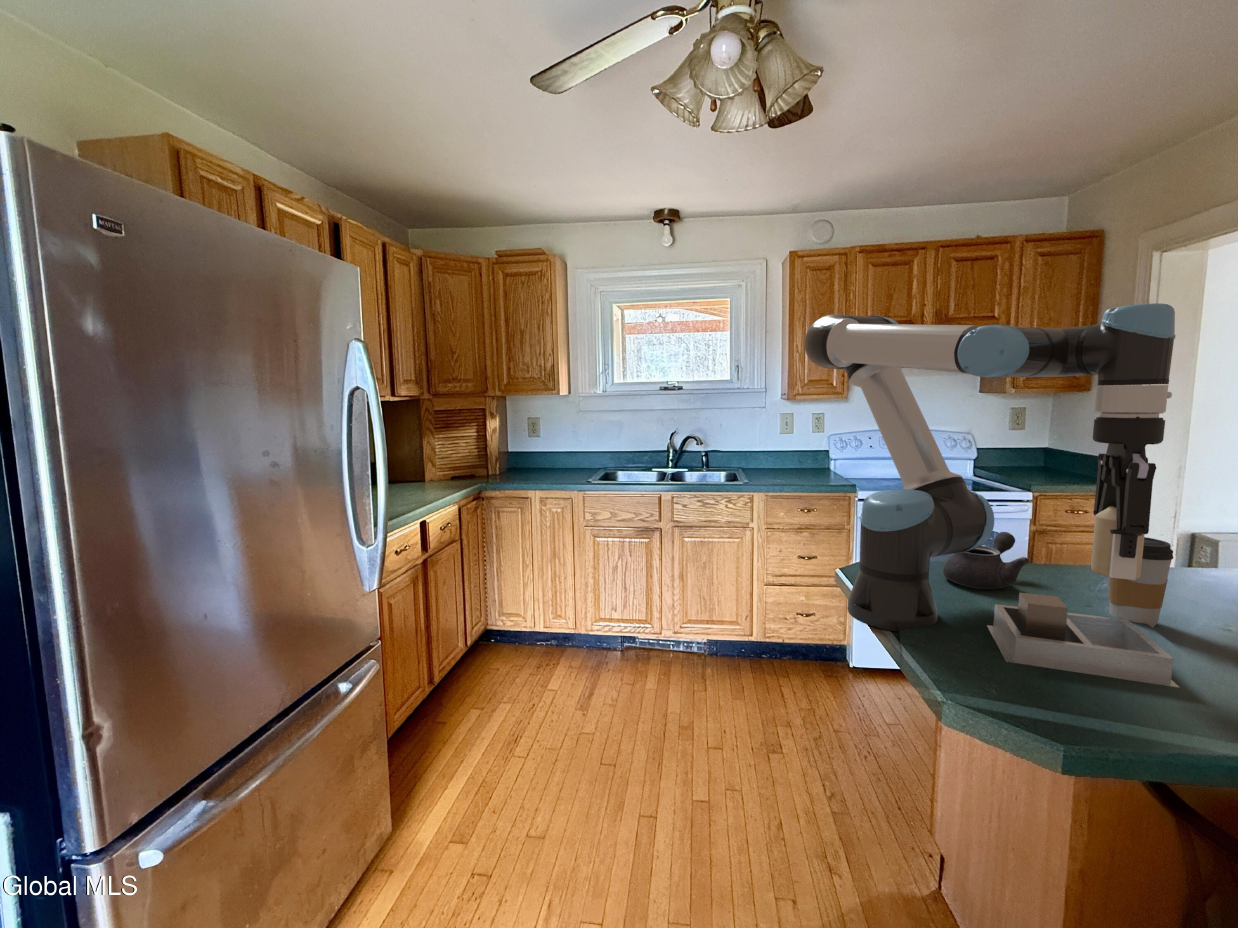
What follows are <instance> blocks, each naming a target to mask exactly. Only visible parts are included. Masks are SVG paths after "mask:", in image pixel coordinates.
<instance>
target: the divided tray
mask: <svg viewBox="0 0 1238 928" xmlns="http://www.w3.org/2000/svg"><path fill="white" fill-rule="evenodd" d="M993 613H994V614H993V625H989V624H987V625H986V627H987V629H988V631H989V633H990V634H991V637H992V638H993V640H994V642H995V644H996V646H997V648H998V649H999V650H1000V653H1001V654H1002V657H1003V659H1004V660H1005V662H1007V663H1013V664H1020V665H1027V666H1033V667H1039V668H1040V667H1041V668H1047V669H1053V670H1061V671H1067V672H1073V673H1079V674H1085V675H1086V674H1087V675H1093V676H1099V677H1100V676H1101V677H1107V678H1113V679H1119V680H1126V681H1133V682H1139V683H1145V684H1153V685H1158V686H1159V685H1160V686H1167V687H1171V688H1172V687H1173V688H1181V687H1180V686H1179V685H1178V684H1177V683H1176V682H1175V681H1173V680H1172V673H1173V667H1174V661H1175V660H1174V658H1173V656H1171V654H1169V653H1168V652H1166V651H1165V650H1164V649H1163V648H1161V646H1159V645H1158V644H1157V643H1156V642H1155V641H1154V640H1152V639H1151V638H1150V637H1149V636H1148V635H1147V634H1145V633H1144V632H1143V631H1142V630H1140V629H1139V628H1138V627H1137V626H1136V625H1135V624H1134V623H1133V622H1132V621H1129V620H1126V619H1121V618H1118V617H1109V616H1099V615H1092V614H1091V615H1090V614H1082V613H1072V612H1067V623H1066V633H1065V641H1058V640H1050V639H1043V638H1035V637H1028V636H1022V634H1021V633H1020V631H1019V630H1018V628H1017V615H1018V606H1015V605H1004V604H996V603H995V604H994V611H993Z"/></svg>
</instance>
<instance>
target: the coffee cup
mask: <svg viewBox="0 0 1238 928" xmlns="http://www.w3.org/2000/svg"><path fill="white" fill-rule="evenodd" d="M1173 559H1174V550H1173V549H1172V547H1171V543H1169V542H1167V541H1165V540H1161V539H1156V538H1152V537H1146V536H1144V546H1143V556H1142V567H1141V575H1140V578H1138V579H1136V580H1130V579H1119V578H1111V577H1108V578H1109V579H1108V587H1109V588H1108V600H1109V611H1108V612H1109V615H1110V616H1113V617H1115V618H1118V619H1126V620H1129V621H1130V622H1131V623H1138V624H1146V625H1147V626H1149V627H1151V629H1153V628H1154V627H1155V626H1156V625H1158V623H1159V619H1160V615H1161V609H1162V607H1163V605H1164V603H1163V602H1164V599H1165V594H1166V589H1167V585H1168V577H1169V573H1170V567H1171V562H1172V560H1173Z"/></svg>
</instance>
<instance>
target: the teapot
mask: <svg viewBox="0 0 1238 928" xmlns="http://www.w3.org/2000/svg"><path fill="white" fill-rule="evenodd" d="M1015 543H1016V538H1015V536H1014V535H1013V534H1012V533H1011V532H1008V531H1000V532H999V533H997V534H996V536H995V537H994V538H993V544H992V545H993V546H992V547H989V546H984V545H981V546H979V547H977V548H975V549H971V550H969V551H966V552H963V553H958V554H957V553H952V554H951V556H949V558H948V559H947V561H946V562H945V564H943V570H942V573H943V575H944V577H945V578H946V579H948V580H949V581H951V582H953V583H955V584H958V585H961V586H963V587H967V588H972V589H978V590H996V589H1002V588H1003V589H1004V588H1005V587H1006V588H1007V587H1008V586H1010V585H1012V584H1014V583H1015V582H1016V581H1017V579H1018V576H1019V573H1020V572H1021V570H1022V569H1023V567H1024V566H1025V565H1027V564H1029V563H1030V560H1029V559H1028V558H1027V557H1026V556H1021V557H1019V558H1016V559H1014V560H1011V561H1008V562H1004V561H1003V559H1002V557H1001V555H1002V554H1003V553H1005V552H1007V551H1010V550H1011V549H1012V548H1013V547H1014V545H1015Z"/></svg>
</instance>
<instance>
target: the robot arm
mask: <svg viewBox="0 0 1238 928" xmlns="http://www.w3.org/2000/svg"><path fill="white" fill-rule="evenodd" d="M1175 320H1176V312H1175V308H1174V307H1173V306H1172V305H1170V304H1168V303H1161V302H1160V303H1159V302H1157V303H1156V302H1155V303H1138V304H1130V305H1129V304H1127V305H1123V306H1122V305H1121V306H1118V307H1111V308H1108V309H1107V310H1106V311H1105V312H1104V313H1103V315H1102V320H1101V323H1095V324H1092V325H1091V324H1090V325H1081V326H1070V327H1057V328H1055V327H1054V328H1053V327H1037V326H1035V327H1033V326H1016V325H1015V326H1014V325H1008V324H989V325H975V324H974V325H973V324H970V325H967V324H963V325H961V324H908V323H907V324H906V323H905V324H904V323H902V324H900V323H899V322H897V320H894V319H892V318H889V317H886V316H885V317H884V316H881V315H877V314H874V315H872V314H871V315H865V316H864V315H855V314H854V315H853V314H841V313H839V314H837V313H836V314H828V315H824V316H823V317H820V318H819V319H817V320H816V321H814V322H813V323H812V324H811V325H810V326H809V328H808V330H807V332H806V334H805V337H804V343H803V344H804V350H805V353H806V356H807V358H809V360H810V361H811V362H812V363H813V364H814V365H815V366H818V367H820V368H822V369H823V368H824V369H829V370H844V371H845V373H846V376H847V377H848V380H849V383H850V384H851V385H852V386H854V387H857V388H860V389H861V391H862V393H863V395H864V398H865V400H866V403H867V404H868V407H869V409H870V411H871V414H872V417H873V418H874V421H875V424H876V425H877V427H878V430H879V432H880V434H881V436H882V439H883V441H884V443H885V446H886V448H887V450H888V452H889V454H890V457H891V459H892V461H893V464H894V466H895V468H896V471H897V473H898V475H899V477H900V480H901V482H902V484H903V488H900V489H899V488H897V489H884V490H880V491H876V492H872V494H869V495H867V496H866V497H865V498H864V500H863V502H862V508H861V514H860V517H859V521H860V537H859V539H860V540H859V566H858V567H859V569H858V574H857V576H856V579H855V581H854V584H853V585H852V588H851V591H850V593H849V596H848V599H847V612H848V614H849V615H850V617H852V618H853V619H855V620H856V621H858V622H861V623H862V624H865V625H868V626H870V627H873V628H878V629H880V630H881V629H882V630H886V631H890V632H891V631H892V632H900V630H899V628H900V629H920V628H927V627H930V626H933V625H934V624H936V623H937V621H938V615H939V614H938V613H939V611H938V608H937V604H936V601H935V597H934V595H933V591H932V587H931V584H930V580H929V579H930V562H931V558H935V557H940V556H945V555H946V556H947V555H953V554H954V553H957V554H958V553H963V552H966V551H969V550H971V549H975V548H977V547H979V546H983V545H984V544H985V543H986V542H987V541H988V540H989V539H990V537H991V534H992V532H993V530H994V527H995V514H994V510H993V507H992V505H991V504H990V502H989V501H988V500H987V499H986V497H984V496H983V495H982V494H978V493H977V492H975V491H973V490H970V489H969V487H968V486H967V484H966V482H965V479H964V478H963V476H962V475H960V474H959V473H956V472H952V470H951V471H950V469H949V467H948V465H947V463H946V461H945V459H944V456H943V453H942V452H941V450H940V448H939V446H938V443H937V442H936V439H935V437H934V436H933V433H932V431H931V429H930V427H929V425H928V423H927V421H926V418H925V417H924V414H923V413H922V411H921V408H920V406H919V404H918V402H917V400H916V398H915V396H914V394H913V391H912V390H911V387H910V385H909V383H908V380H907V378H906V376H905V374H904V372H903V369H904V368H905V369H914V370H915V369H916V370H926V371H935V372H946V373H947V372H948V373H958V374H967V375H970V376H971V375H972V376H974V377H980V378H984V379H985V378H986V379H999V378H1011V377H1012V378H1016V377H1017V378H1029V379H1044V378H1055V377H1057V378H1061V377H1076V376H1077V377H1078V376H1097V386H1096V392H1095V401H1094V412H1095V413H1096V414H1099V416H1097V417H1096V418H1094V420H1093V428H1092V440H1093V441H1094V442H1095V443H1100V444H1107V448H1106V449H1107V450H1106V451H1105V452H1106V453H1098V454H1097V457H1096V458H1097V474H1096V475H1097V477H1096V483H1095V485H1096V487H1095V494H1094V495H1095V497H1094V503H1093V504H1094V505H1093V512H1092V513H1093V516H1095V515H1096V514H1098V513H1100V512H1101V511H1103V510H1105V509H1107V508H1108V507H1109V506H1112V507H1115V508H1116V509H1117V529H1116V530H1115V529H1113V530H1110V533H1111V534H1113V540H1112V550H1111V561H1110V572H1109V576H1110V577H1111V578H1120V579H1130V580H1136V570H1137V560H1138V550H1139V540H1140V536H1141V535H1142V534H1145V535H1148V534H1149V532H1150V519H1151V518H1150V517H1151V507H1152V506H1151V505H1152V495H1153V494H1152V493H1153V483H1154V478H1155V474H1156V470H1157V464H1156V463H1155V462H1149V458H1148V457H1147V454H1146V451H1147V450H1146V447H1147V445H1159V444H1162V443H1163V441H1164V437H1165V428H1166V420H1165V419H1164V417H1160V414H1164V413H1166V410H1167V403H1168V399H1170V398H1172V396H1173V393H1172V392H1171V391H1169V385H1170V373H1171V367H1172V365H1171V364H1172V358H1173V357H1172V356H1173V350H1174V343H1175V342H1174V341H1175V339H1176V337H1177V335H1176V334H1175V332H1176V329H1175V328H1176V327H1175V326H1176V325H1175V324H1176V322H1175ZM1132 524H1135V525H1132Z"/></svg>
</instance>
